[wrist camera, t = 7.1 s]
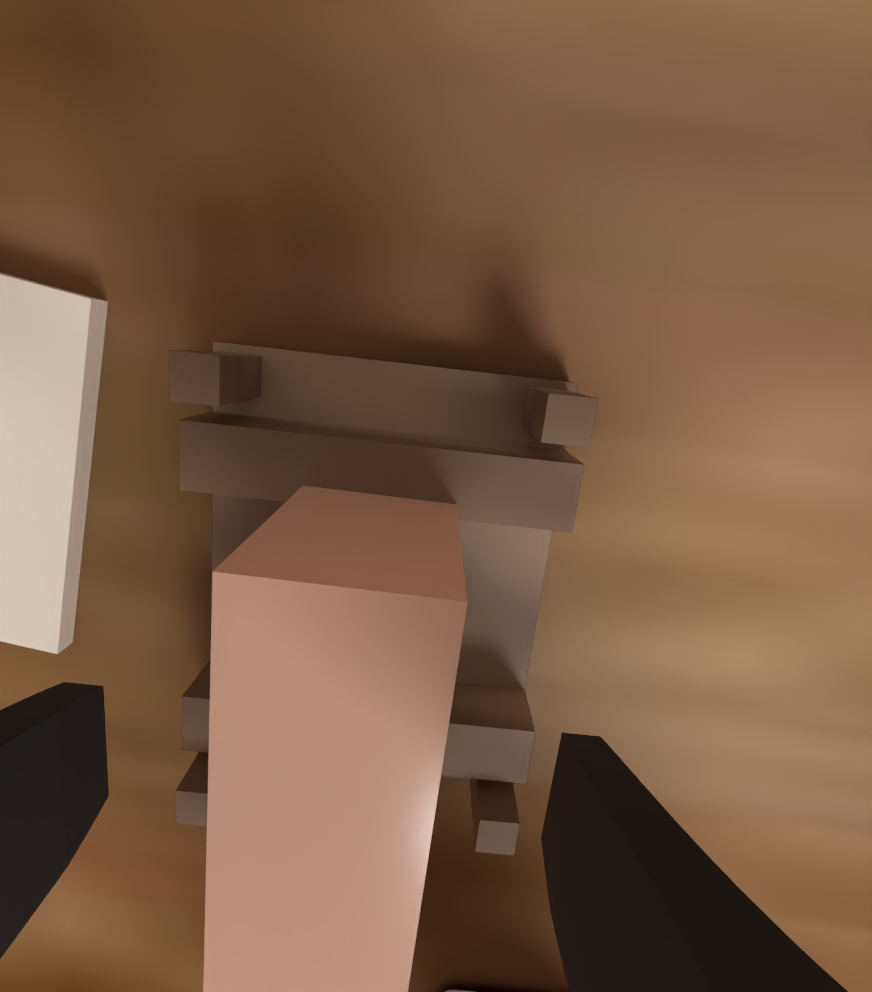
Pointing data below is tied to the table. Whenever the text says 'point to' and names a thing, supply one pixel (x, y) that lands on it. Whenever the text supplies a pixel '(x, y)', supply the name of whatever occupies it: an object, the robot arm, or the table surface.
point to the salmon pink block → (328, 740)
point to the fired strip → (45, 454)
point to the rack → (406, 474)
